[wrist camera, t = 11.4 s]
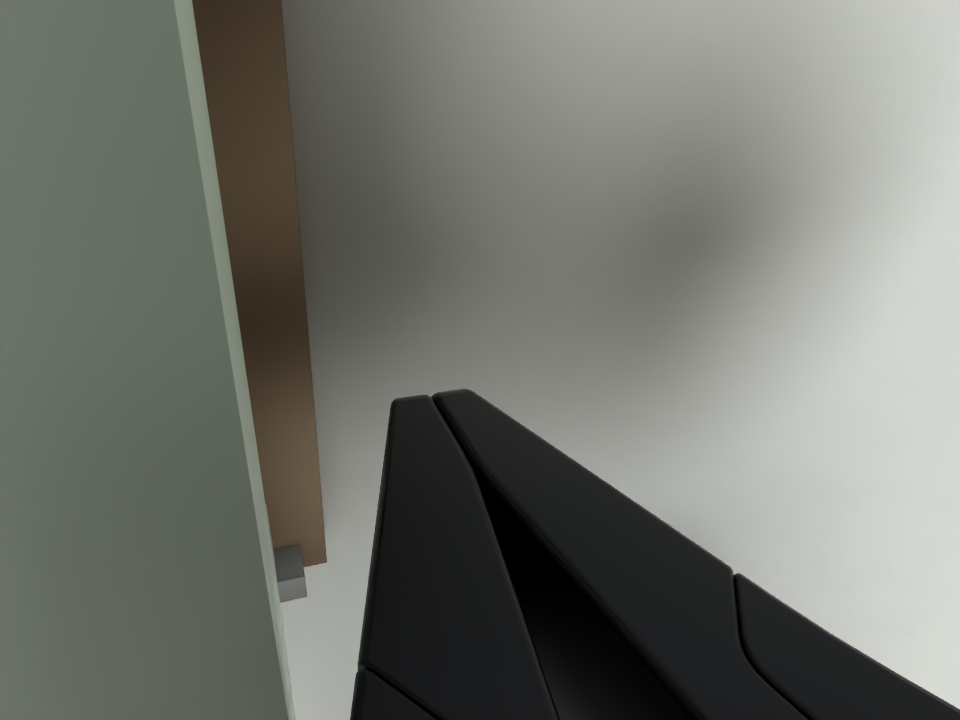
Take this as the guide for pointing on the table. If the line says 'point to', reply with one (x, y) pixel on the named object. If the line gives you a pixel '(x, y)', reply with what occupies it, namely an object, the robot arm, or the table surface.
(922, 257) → the table surface
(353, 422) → the table surface
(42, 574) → the housing
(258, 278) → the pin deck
